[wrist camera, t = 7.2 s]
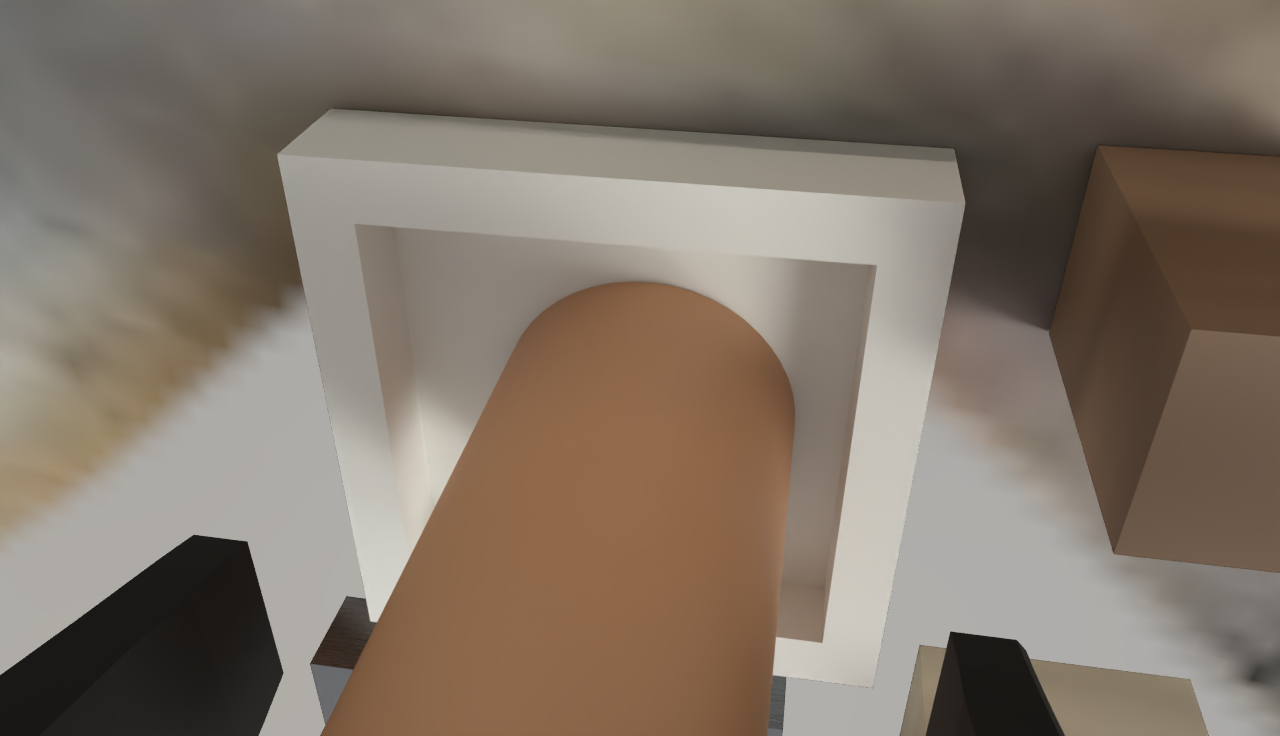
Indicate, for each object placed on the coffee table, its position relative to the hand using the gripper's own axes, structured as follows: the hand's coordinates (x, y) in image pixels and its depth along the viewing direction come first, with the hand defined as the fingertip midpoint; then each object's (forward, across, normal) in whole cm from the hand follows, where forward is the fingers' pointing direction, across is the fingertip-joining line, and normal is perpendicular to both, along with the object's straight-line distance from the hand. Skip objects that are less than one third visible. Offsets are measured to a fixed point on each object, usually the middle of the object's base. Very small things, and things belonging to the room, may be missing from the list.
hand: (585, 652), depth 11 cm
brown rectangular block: (+5, -6, -3) cm, 8 cm away
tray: (+5, 0, 0) cm, 5 cm away
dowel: (+4, 0, 0) cm, 4 cm away
